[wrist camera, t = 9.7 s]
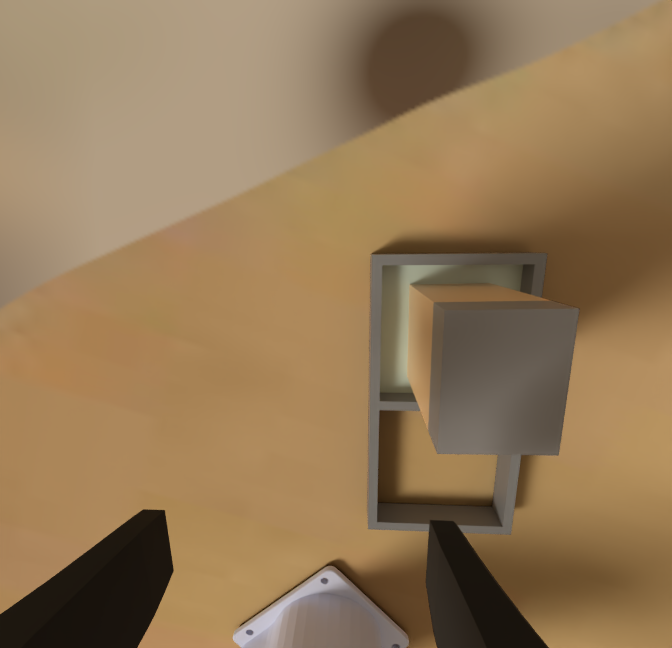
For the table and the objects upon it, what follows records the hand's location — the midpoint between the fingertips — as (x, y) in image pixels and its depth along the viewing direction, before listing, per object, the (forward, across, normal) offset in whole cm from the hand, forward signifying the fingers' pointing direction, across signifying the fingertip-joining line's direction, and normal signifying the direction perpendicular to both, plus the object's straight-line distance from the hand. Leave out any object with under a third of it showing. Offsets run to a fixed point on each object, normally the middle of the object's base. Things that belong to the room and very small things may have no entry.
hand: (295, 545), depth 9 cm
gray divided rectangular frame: (+10, -6, 0) cm, 12 cm away
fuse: (+10, -6, -3) cm, 12 cm away
